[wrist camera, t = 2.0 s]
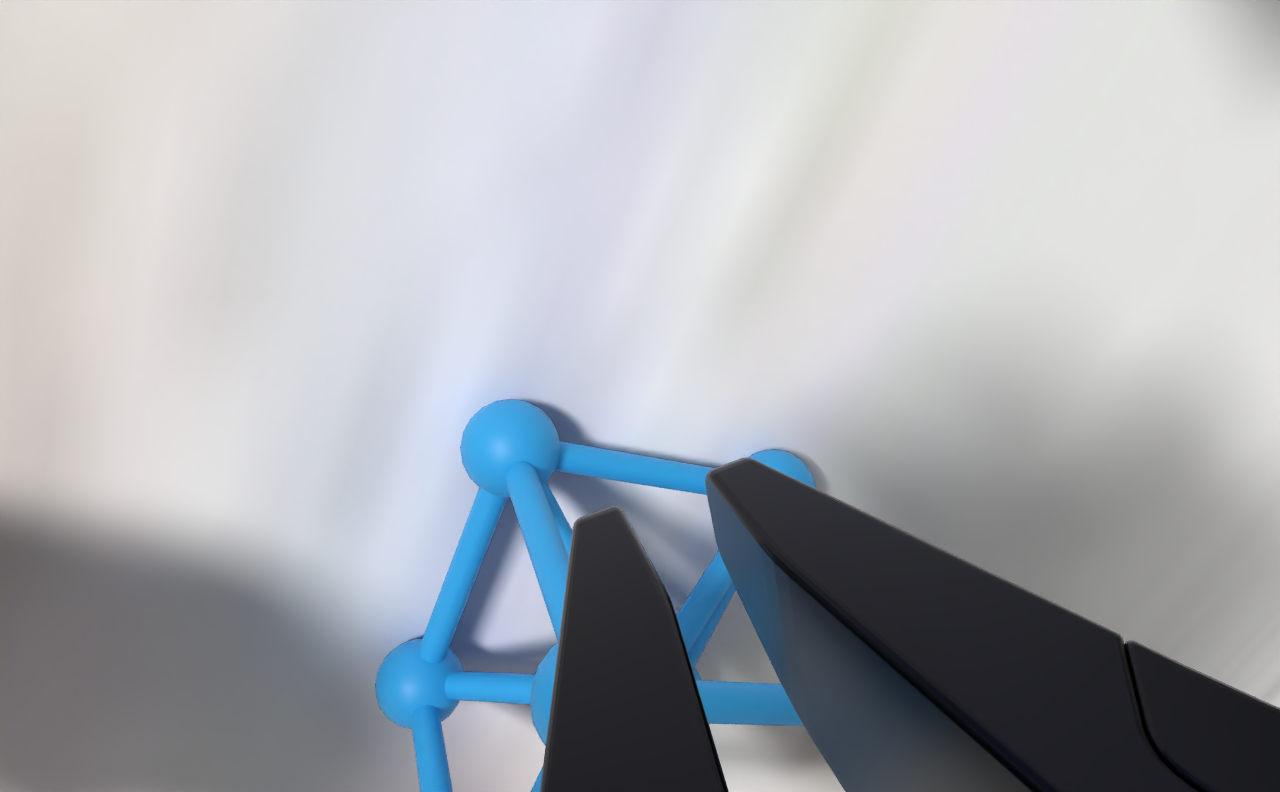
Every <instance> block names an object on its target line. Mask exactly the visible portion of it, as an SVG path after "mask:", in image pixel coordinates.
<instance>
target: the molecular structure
mask: <svg viewBox="0 0 1280 792" xmlns="http://www.w3.org/2000/svg"><path fill="white" fill-rule="evenodd" d="M460 448H461V456H462V463H463V465H464V467H465V469H466V471H467V473H468V475H469V477H470V478H471V479H472V480H473V481H474V482H475V483H476V484H477V485H478V486H479V490H478V493H477V495H476V498H475V501H474V503H473V506H472V509H471V511H470V514H469V517H468V519H467V522H466V524H465V527H464V530H463V532H462V535H461V538H460V540H459V543H458V546H457V548H456V551H455V554H454V556H453V559H452V562H451V564H450V567H449V570H448V572H447V575H446V578H445V580H444V583H443V586H442V588H441V591H440V594H439V596H438V599H437V602H436V604H435V607H434V610H433V612H432V615H431V617H430V620H429V623H428V625H427V628H426V631H425V633H424V636H423V639H414V640H411V641H408V642H405V643H402V644H401V645H399V646H398V647H397V648H395V649H394V650H393V651H391V652H390V653H389V655H388V656H387V657H386V658H385V659H384V661H383V663H382V664H381V666H380V668H379V670H378V672H377V678H376V683H375V688H376V697H377V700H378V703H379V707H380V708H381V710H382V711H383V712H384V714H385V715H386V716H387V718H388V719H390V720H391V721H392V722H394V723H395V724H397V725H398V726H402V727H405V728H409V729H412V731H413V739H414V746H415V754H416V761H417V769H418V776H419V784H420V791H421V792H453V791H452V785H451V779H450V773H449V767H448V761H447V755H446V749H445V743H444V737H443V731H442V725H441V722H442V721H443V720H445V719H446V718H447V717H449V716H450V714H451V713H452V712H453V710H454V709H455V708H456V706H457V705H458V703H459V701H460V700H466V701H483V702H499V703H516V704H530V705H531V712H532V720H533V724H534V726H535V728H536V730H537V732H538V734H539V737H540V738H541V740H542V742H543V743H544V744H545V746H546V740H547V732H548V724H549V716H550V708H551V700H552V692H553V684H554V676H555V668H556V660H557V652H558V643H559V635H560V627H561V619H562V611H563V603H564V595H565V587H566V579H567V571H568V563H569V555H570V547H571V539H572V529H571V527H570V525H569V523H568V522H567V520H566V518H565V516H564V514H563V512H562V510H561V509H560V507H559V505H558V503H557V501H556V499H555V497H554V495H553V494H552V492H551V490H550V488H549V486H548V484H547V482H546V481H547V480H548V479H549V478H550V477H551V475H552V473H553V472H554V471H559V472H565V473H572V474H578V475H584V476H591V477H597V478H603V479H610V480H616V481H622V482H629V483H635V484H641V485H648V486H654V487H660V488H667V489H673V490H679V491H686V492H692V493H698V494H705V495H707V492H706V486H705V478H706V475H707V473H708V472H709V471H710V470H712V469H714V468H711V467H705V466H699V465H693V464H688V463H682V462H676V461H670V460H665V459H659V458H653V457H648V456H642V455H636V454H630V453H625V452H619V451H613V450H607V449H602V448H596V447H590V446H584V445H579V444H573V443H567V442H561V441H559V436H558V433H557V431H556V428H555V426H554V424H553V422H552V420H551V419H550V418H549V417H548V416H547V415H546V414H545V413H544V412H543V411H542V410H541V409H540V408H538V407H536V406H534V405H532V404H531V403H529V402H526V401H521V400H515V399H507V400H500V401H495V402H493V403H491V404H489V405H487V406H485V407H483V408H481V409H480V410H479V411H478V412H477V413H476V414H475V415H474V416H473V417H472V418H471V419H470V421H469V423H468V425H467V426H466V428H465V430H464V432H463V436H462V442H461V447H460ZM748 458H752V459H755V460H757V461H759V462H761V463H763V464H765V465H767V466H770V467H772V468H774V469H776V470H778V471H780V472H782V473H784V474H786V475H788V476H790V477H792V478H795V479H797V480H799V481H801V482H803V483H805V484H807V485H809V486H811V487H813V488H815V489H816V485H815V482H814V478H813V475H812V473H811V472H810V470H809V469H808V467H807V466H806V464H805V463H804V462H803V461H801V460H800V459H799V458H798V457H796V456H795V455H793V454H791V453H789V452H787V451H781V450H775V449H772V450H764V451H761V452H758V453H755V454H752V455H751V456H750V457H748ZM508 498H511V500H512V503H513V506H514V509H515V513H516V516H517V519H518V522H519V525H520V528H521V531H522V534H523V537H524V540H525V543H526V546H527V549H528V552H529V555H530V558H531V561H532V564H533V567H534V570H535V573H536V576H537V579H538V582H539V585H540V588H541V591H542V594H543V597H544V601H545V604H546V607H547V610H548V613H549V616H550V619H551V622H552V625H553V628H554V631H555V634H556V637H557V640H558V643H556V644H555V645H554V646H552V648H551V649H550V650H549V652H548V653H547V654H546V656H545V657H544V658H543V660H542V661H541V663H540V664H539V666H538V669H537V671H536V674H518V673H495V672H472V671H463V668H462V666H461V663H460V661H459V659H458V658H457V656H456V655H455V654H454V652H453V651H452V650H451V649H450V648H449V646H450V644H451V641H452V638H453V636H454V633H455V631H456V628H457V626H458V623H459V621H460V618H461V616H462V613H463V610H464V608H465V605H466V603H467V600H468V598H469V595H470V593H471V590H472V588H473V585H474V583H475V580H476V577H477V575H478V572H479V570H480V567H481V565H482V562H483V560H484V557H485V555H486V552H487V549H488V547H489V544H490V542H491V539H492V537H493V534H494V532H495V529H496V527H497V524H498V522H499V519H500V516H501V514H502V511H503V509H504V506H505V504H506V501H507V499H508ZM735 590H736V588H735V586H734V584H733V582H732V579H731V577H730V575H729V573H728V571H727V569H726V567H725V565H724V562H723V560H722V557H721V555H720V552H719V551H718V552H717V554H716V555H715V557H714V559H713V560H712V562H711V563H710V565H709V566H708V568H707V569H706V571H705V572H704V574H703V575H702V577H701V578H700V580H699V581H698V583H697V584H696V586H695V588H694V589H693V591H692V592H691V594H690V595H689V597H688V598H687V600H686V601H685V603H684V604H683V606H682V607H681V609H680V610H679V612H678V613H677V615H676V616H677V619H678V622H679V626H680V629H681V632H682V636H683V639H684V642H685V646H686V649H687V653H688V656H689V659H690V663H691V666H692V670H693V673H694V676H695V680H696V683H697V687H698V690H699V693H700V697H701V700H702V703H703V707H704V710H705V714H706V717H707V720H708V723H709V724H751V725H793V726H804V725H803V723H802V721H801V720H800V718H799V716H798V715H797V713H796V711H795V709H794V708H793V706H792V704H791V702H790V700H789V698H788V696H787V694H786V692H785V690H784V688H783V686H782V684H766V683H745V682H725V681H704V680H701V678H700V676H699V674H698V672H697V670H696V669H695V668H694V666H695V664H696V663H697V661H698V659H699V657H700V655H701V653H702V651H703V650H704V648H705V646H706V644H707V642H708V640H709V638H710V637H711V635H712V633H713V631H714V629H715V627H716V625H717V624H718V622H719V620H720V618H721V616H722V614H723V612H724V611H725V609H726V607H727V605H728V603H729V601H730V600H731V598H732V596H733V594H734V592H735ZM542 772H543V767H542V769H541V771H540V773H539V776H538V778H537V780H536V782H535V784H534V786H533V788H532V790H531V792H540V788H541V780H542Z"/></svg>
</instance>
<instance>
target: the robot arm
mask: <svg viewBox="0 0 1280 792" xmlns="http://www.w3.org/2000/svg"><path fill="white" fill-rule="evenodd" d="M705 486H706V492H707V497H708V502H709V507H710V512H711V517H712V523H713V528H714V533H715V538H716V542H717V546H718V549H719V552H720V555H721V557H722V560H723V562H724V565H725V567H726V569H727V571H728V573H729V575H730V577H731V579H732V582H733V584H734V586H735V588H736V590H737V592H738V594H739V596H740V598H741V600H742V602H743V605H744V607H745V609H746V611H747V613H748V615H749V617H750V619H751V621H752V623H753V625H754V628H755V630H756V632H757V634H758V636H759V638H760V640H761V642H762V644H763V646H764V648H765V651H766V653H767V655H768V657H769V659H770V661H771V663H772V665H773V667H774V669H775V671H776V674H777V676H778V678H779V680H780V682H781V684H782V686H783V688H784V690H785V692H786V694H787V696H788V698H789V700H790V702H791V704H792V706H793V708H794V709H795V711H796V713H797V715H798V716H799V718H800V720H801V721H802V723H803V725H804V726H805V728H806V730H807V732H808V733H809V735H810V737H811V738H812V740H813V741H814V743H815V744H816V746H817V748H818V749H819V751H820V752H821V754H822V755H823V757H824V759H825V760H826V762H827V763H828V765H829V766H830V768H831V770H832V771H833V773H834V774H835V776H836V777H837V779H838V781H839V782H840V784H841V785H842V787H843V789H844V790H845V792H1280V708H1278V707H1276V706H1274V705H1271V704H1269V703H1267V702H1265V701H1262V700H1260V699H1258V698H1256V697H1254V696H1251V695H1249V694H1247V693H1245V692H1243V691H1240V690H1238V689H1236V688H1234V687H1232V686H1229V685H1227V684H1225V683H1223V682H1221V681H1218V680H1216V679H1214V678H1212V677H1210V676H1207V675H1205V674H1203V673H1201V672H1198V671H1196V670H1194V669H1192V668H1190V667H1187V666H1185V665H1183V664H1181V663H1179V662H1177V661H1175V660H1173V659H1171V658H1169V657H1167V656H1164V655H1162V654H1160V653H1158V652H1156V651H1154V650H1152V649H1150V648H1148V647H1146V646H1144V645H1141V644H1139V643H1137V642H1135V641H1128V642H1126V643H1125V645H1124V641H1123V639H1122V637H1121V636H1120V635H1119V634H1118V633H1116V632H1113V631H1111V630H1109V629H1107V628H1105V627H1103V626H1101V625H1099V624H1097V623H1095V622H1093V621H1091V620H1088V619H1086V618H1084V617H1082V616H1080V615H1078V614H1076V613H1074V612H1072V611H1070V610H1068V609H1066V608H1063V607H1061V606H1059V605H1057V604H1055V603H1053V602H1051V601H1049V600H1047V599H1045V598H1043V597H1041V596H1038V595H1036V594H1034V593H1032V592H1030V591H1028V590H1026V589H1024V588H1022V587H1020V586H1018V585H1015V584H1013V583H1011V582H1009V581H1007V580H1005V579H1003V578H1001V577H999V576H997V575H995V574H993V573H990V572H988V571H986V570H984V569H982V568H980V567H978V566H976V565H974V564H972V563H970V562H968V561H965V560H963V559H961V558H959V557H957V556H955V555H953V554H951V553H949V552H947V551H945V550H943V549H940V548H938V547H936V546H934V545H932V544H930V543H928V542H926V541H924V540H922V539H920V538H918V537H915V536H913V535H911V534H909V533H907V532H905V531H903V530H901V529H899V528H897V527H895V526H893V525H890V524H888V523H886V522H884V521H882V520H880V519H878V518H876V517H874V516H872V515H870V514H867V513H865V512H863V511H861V510H859V509H857V508H855V507H853V506H851V505H849V504H847V503H845V502H842V501H840V500H838V499H836V498H834V497H832V496H830V495H828V494H826V493H824V492H822V491H820V490H817V489H815V488H813V487H811V486H809V485H807V484H805V483H803V482H801V481H799V480H797V479H795V478H792V477H790V476H788V475H786V474H784V473H782V472H780V471H778V470H776V469H774V468H772V467H770V466H767V465H765V464H763V463H761V462H759V461H757V460H755V459H752V458H741V459H739V460H736V461H733V462H730V463H728V464H725V465H722V466H720V467H717V468H714V469H712V470H710V471H709V472H708V473H707V475H706V478H705ZM540 792H728V788H727V785H726V781H725V778H724V775H723V771H722V768H721V764H720V761H719V758H718V754H717V751H716V747H715V744H714V741H713V737H712V734H711V731H710V727H709V724H708V720H707V717H706V714H705V710H704V707H703V703H702V700H701V697H700V693H699V690H698V687H697V683H696V680H695V676H694V673H693V670H692V666H691V663H690V659H689V656H688V653H687V649H686V646H685V642H684V639H683V636H682V632H681V629H680V626H679V622H678V619H677V616H676V613H675V610H674V607H673V605H672V602H671V599H670V597H669V595H668V593H667V591H666V589H665V587H664V585H663V583H662V581H661V579H660V577H659V576H658V574H657V572H656V570H655V568H654V566H653V565H652V563H651V561H650V559H649V557H648V556H647V554H646V552H645V550H644V548H643V546H642V545H641V543H640V541H639V539H638V537H637V535H636V534H635V532H634V530H633V528H632V526H631V525H630V523H629V521H628V519H627V517H626V515H625V514H624V512H623V510H622V509H620V508H619V507H618V506H610V507H608V508H605V509H602V510H599V511H597V512H594V513H591V514H589V515H586V516H583V517H580V518H579V519H577V520H576V522H575V523H574V526H573V531H572V539H571V547H570V555H569V563H568V571H567V579H566V587H565V595H564V603H563V611H562V619H561V627H560V635H559V643H558V652H557V660H556V668H555V676H554V684H553V692H552V700H551V708H550V716H549V724H548V732H547V740H546V748H545V756H544V764H543V772H542V780H541V788H540Z"/></svg>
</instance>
